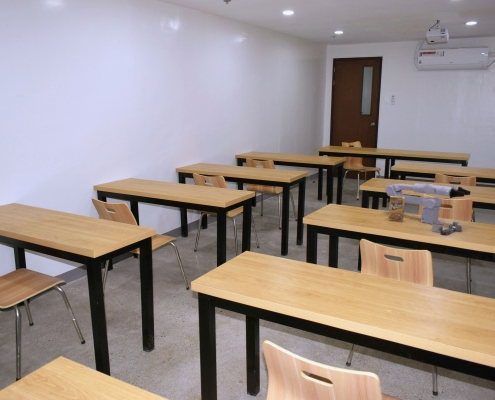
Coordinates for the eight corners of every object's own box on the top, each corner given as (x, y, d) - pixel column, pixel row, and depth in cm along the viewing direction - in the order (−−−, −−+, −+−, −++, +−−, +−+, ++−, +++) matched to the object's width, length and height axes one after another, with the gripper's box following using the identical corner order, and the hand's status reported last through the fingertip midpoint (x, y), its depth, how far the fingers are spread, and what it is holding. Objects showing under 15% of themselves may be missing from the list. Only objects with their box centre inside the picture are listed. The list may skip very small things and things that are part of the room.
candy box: (388, 220, 274) (390, 196, 271) (388, 219, 278) (390, 195, 275) (402, 222, 271) (405, 198, 268) (403, 220, 275) (405, 196, 272)
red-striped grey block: (432, 231, 250) (433, 222, 249) (431, 229, 255) (432, 220, 254) (442, 232, 249) (443, 223, 248) (441, 230, 254) (442, 221, 253)
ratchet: (436, 233, 247) (437, 225, 246) (451, 227, 259) (452, 219, 258) (449, 236, 242) (450, 227, 241) (463, 230, 254) (464, 222, 253)
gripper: (438, 185, 256) (462, 188, 246) (450, 183, 265) (473, 185, 255) (437, 197, 258) (460, 200, 248) (449, 194, 267) (472, 197, 257)
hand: (467, 194), depth 251 cm, fingers open, 7 cm apart
